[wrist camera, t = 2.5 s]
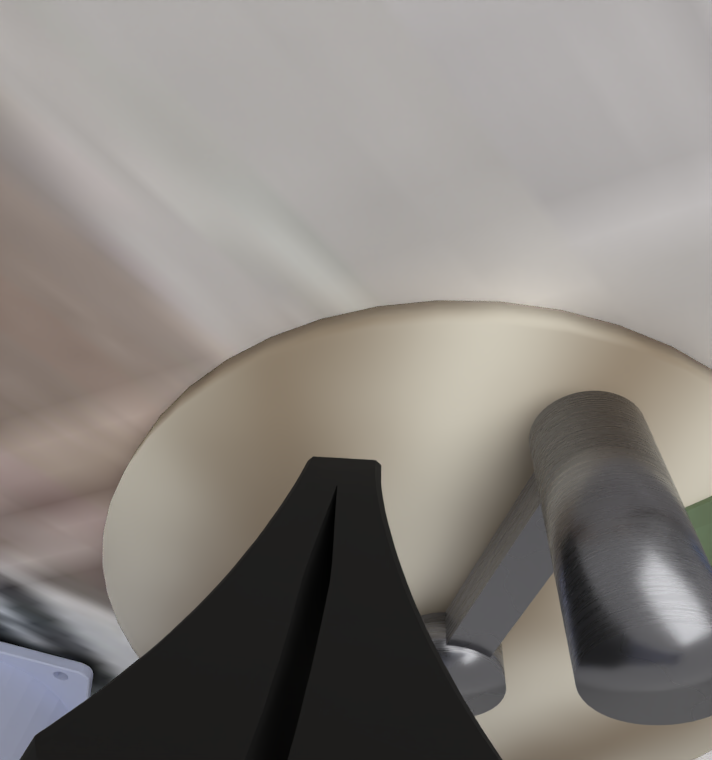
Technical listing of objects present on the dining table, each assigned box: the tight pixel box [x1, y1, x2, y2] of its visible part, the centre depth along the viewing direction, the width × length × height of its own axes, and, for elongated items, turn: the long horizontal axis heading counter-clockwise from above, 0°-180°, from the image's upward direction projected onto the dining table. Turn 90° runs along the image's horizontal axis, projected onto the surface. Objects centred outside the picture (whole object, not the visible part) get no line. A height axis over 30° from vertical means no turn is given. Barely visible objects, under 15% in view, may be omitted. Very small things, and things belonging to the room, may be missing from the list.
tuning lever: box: [421, 391, 712, 725], centre depth 14 cm, size 11×3×6 cm, turn 163°
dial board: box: [102, 301, 712, 760], centre depth 19 cm, size 20×20×1 cm
